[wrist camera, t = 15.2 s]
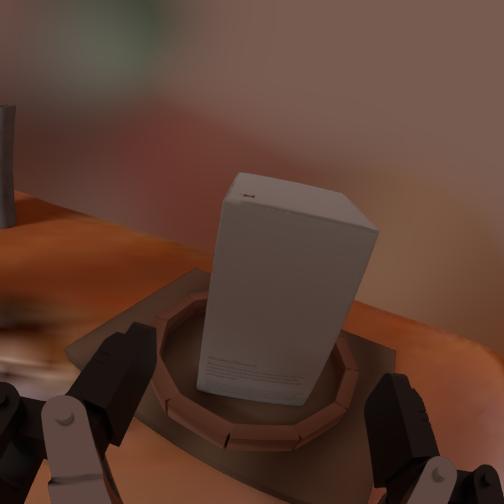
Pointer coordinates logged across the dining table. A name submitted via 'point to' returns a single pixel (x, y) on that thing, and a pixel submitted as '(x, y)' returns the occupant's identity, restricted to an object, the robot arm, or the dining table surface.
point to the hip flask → (7, 166)
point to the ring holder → (254, 405)
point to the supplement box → (280, 288)
